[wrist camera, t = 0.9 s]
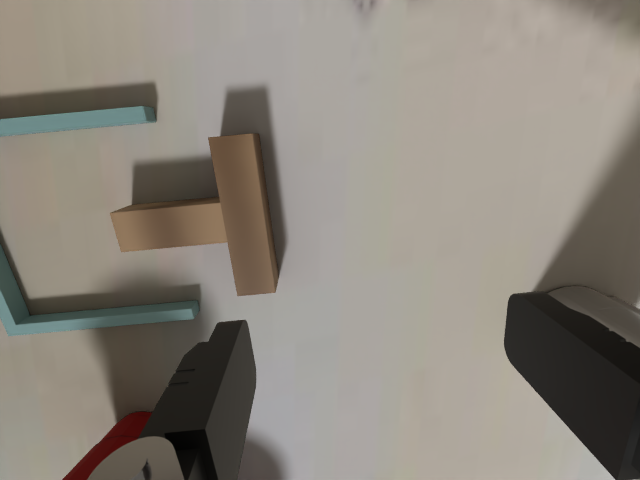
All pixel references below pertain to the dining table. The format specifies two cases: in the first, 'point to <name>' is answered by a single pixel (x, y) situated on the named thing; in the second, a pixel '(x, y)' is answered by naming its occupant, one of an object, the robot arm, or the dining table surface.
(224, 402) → the robot arm
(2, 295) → the dock
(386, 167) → the dining table surface
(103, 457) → the plastic cup
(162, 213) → the t block
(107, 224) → the dining table surface
